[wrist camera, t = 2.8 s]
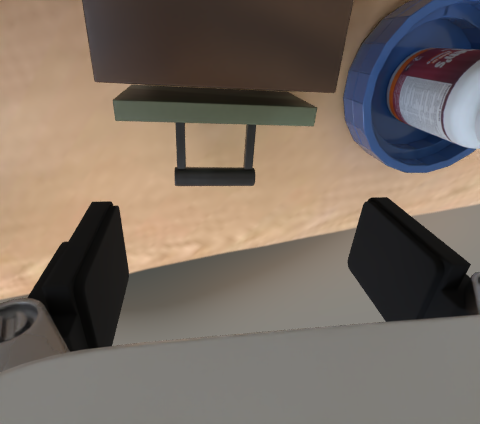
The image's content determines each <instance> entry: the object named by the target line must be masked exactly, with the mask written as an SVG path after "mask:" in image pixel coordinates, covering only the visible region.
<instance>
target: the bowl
mask: <svg viewBox="0 0 480 424" xmlns="http://www.w3.org/2000/svg"><path fill="white" fill-rule="evenodd" d="M427 48H449V49H475V50H480V0H412V1H409V2H406V3H405V4H404V5H402V6H401V7H399V8H398V9H396V10H395V11H393V12H392V13H391V14H389V15H388V16H386V17H385V18H383V20H381V22H380V23H379V24H378V25H377V26H376V28H375V29H374V30H373V31H372V32H371V33H370V35H369V36H368V37H367V38H366V39H365V40H364V42H363V43H362V45H361V47H360V49H359V51H358V53H357V55H356V57H355V59H354V61H353V63H352V65H351V67H350V69H349V72H348V77H347V81H346V86H345V91H344V97H343V100H344V113H345V121H346V124H347V126H348V128H349V130H350V133H351V135H352V137H353V139H354V141H355V142H356V143H357V144H358V145H359V146H360V147H361V148H362V149H363V150H364V151H365V152H366V153H368V154H370V155H371V156H373V157H374V158H376V159H377V160H379V161H381V162H382V163H384V164H385V165H387V166H389V167H392V168H394V169H397V170H400V171H402V172H406V173H427V172H431V171H434V170H438V169H441V168H444V167H448V166H450V165H452V164H454V163H455V162H457V161H459V160H461V159H462V158H464V157H466V156H467V155H469V154H471V153H472V152H474V151H475V150H476V149H473V148H467V147H463V146H460V145H458V144H455V143H452V142H450V141H447V140H445V139H442V138H440V137H437V136H435V135H432V134H430V133H427V132H425V131H423V130H420V129H418V128H415V127H412V126H410V125H408V124H405V123H403V122H401V121H399V120H398V119H396V118H395V117H394V116H393V115H392V114H391V112H390V110H389V108H388V105H387V88H388V84H389V82H390V79H391V77H392V75H393V73H394V72H395V70H396V69H397V67H398V66H399V65H400V64H401V63H402V62H403V61H404V60H405V59H406V58H407V57H408V56H410V55H411V54H413V53H415V52H417V51H419V50H423V49H427Z"/></svg>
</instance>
